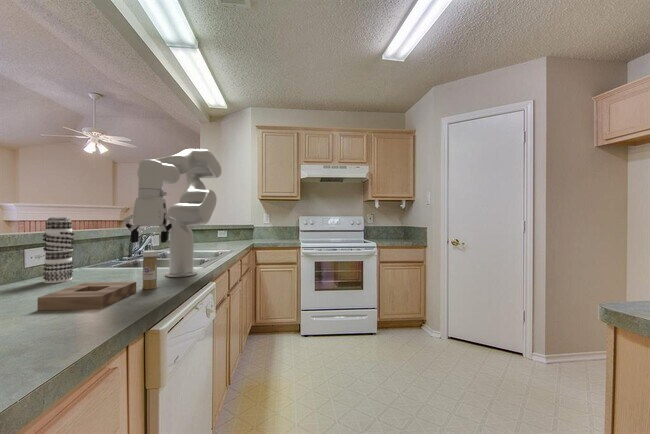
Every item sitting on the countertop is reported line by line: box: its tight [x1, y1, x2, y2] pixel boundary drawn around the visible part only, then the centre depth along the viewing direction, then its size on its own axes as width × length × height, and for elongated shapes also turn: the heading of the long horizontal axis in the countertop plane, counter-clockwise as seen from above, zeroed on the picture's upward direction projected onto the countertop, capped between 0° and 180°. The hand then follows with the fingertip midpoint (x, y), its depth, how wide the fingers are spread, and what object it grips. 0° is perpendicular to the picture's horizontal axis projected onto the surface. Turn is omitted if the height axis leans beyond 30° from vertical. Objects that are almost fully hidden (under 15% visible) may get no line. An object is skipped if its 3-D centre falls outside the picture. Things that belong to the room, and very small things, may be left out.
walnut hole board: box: [36, 281, 137, 311], centre depth 87 cm, size 18×16×4 cm
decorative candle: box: [42, 216, 75, 284], centre depth 112 cm, size 9×9×25 cm
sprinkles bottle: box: [141, 249, 158, 290], centre depth 102 cm, size 5×5×14 cm
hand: (149, 242), depth 102 cm, fingers open, 9 cm apart
